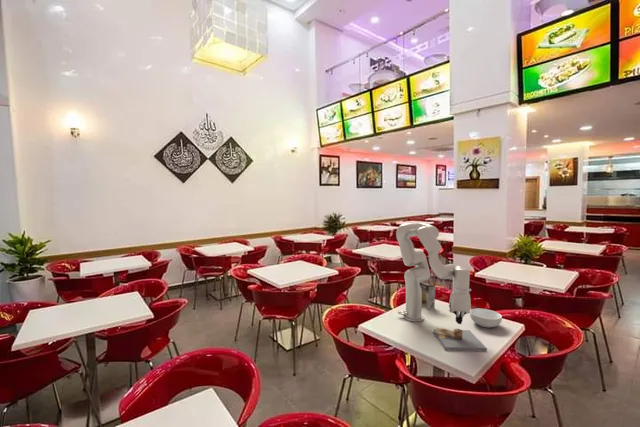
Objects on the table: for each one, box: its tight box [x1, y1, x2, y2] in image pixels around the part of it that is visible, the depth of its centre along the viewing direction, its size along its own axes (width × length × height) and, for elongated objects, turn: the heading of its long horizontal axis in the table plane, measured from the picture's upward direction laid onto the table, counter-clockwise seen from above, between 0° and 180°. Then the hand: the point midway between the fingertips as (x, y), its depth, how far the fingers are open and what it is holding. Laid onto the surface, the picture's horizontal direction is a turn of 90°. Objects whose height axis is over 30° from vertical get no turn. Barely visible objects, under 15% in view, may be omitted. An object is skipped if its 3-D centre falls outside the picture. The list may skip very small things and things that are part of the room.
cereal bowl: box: [469, 307, 503, 329], centre depth 181 cm, size 17×17×7 cm
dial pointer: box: [435, 326, 463, 340], centre depth 163 cm, size 13×4×4 cm, turn 58°
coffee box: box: [419, 281, 436, 310], centre depth 211 cm, size 9×6×16 cm
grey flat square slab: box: [432, 329, 488, 352], centre depth 161 cm, size 20×20×2 cm
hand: (458, 322), depth 166 cm, fingers closed
